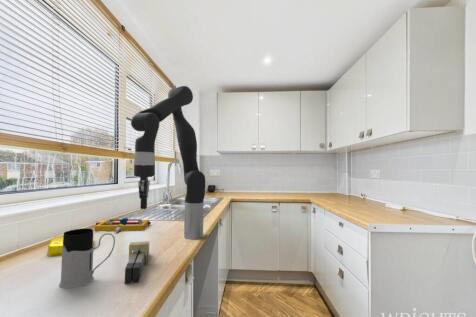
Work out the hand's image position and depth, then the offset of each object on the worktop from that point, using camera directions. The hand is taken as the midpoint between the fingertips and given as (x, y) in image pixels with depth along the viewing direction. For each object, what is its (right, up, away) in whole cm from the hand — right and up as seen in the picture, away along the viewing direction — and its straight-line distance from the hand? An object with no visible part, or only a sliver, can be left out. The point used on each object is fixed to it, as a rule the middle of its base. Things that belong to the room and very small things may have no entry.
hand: (143, 208), depth 92 cm
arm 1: (+1, -18, -12) cm, 22 cm away
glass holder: (-9, -18, -20) cm, 28 cm away
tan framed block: (+1, -18, -7) cm, 19 cm away
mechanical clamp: (-29, -20, +40) cm, 53 cm away
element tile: (-34, -19, +9) cm, 40 cm away
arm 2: (+3, -18, -11) cm, 22 cm away
